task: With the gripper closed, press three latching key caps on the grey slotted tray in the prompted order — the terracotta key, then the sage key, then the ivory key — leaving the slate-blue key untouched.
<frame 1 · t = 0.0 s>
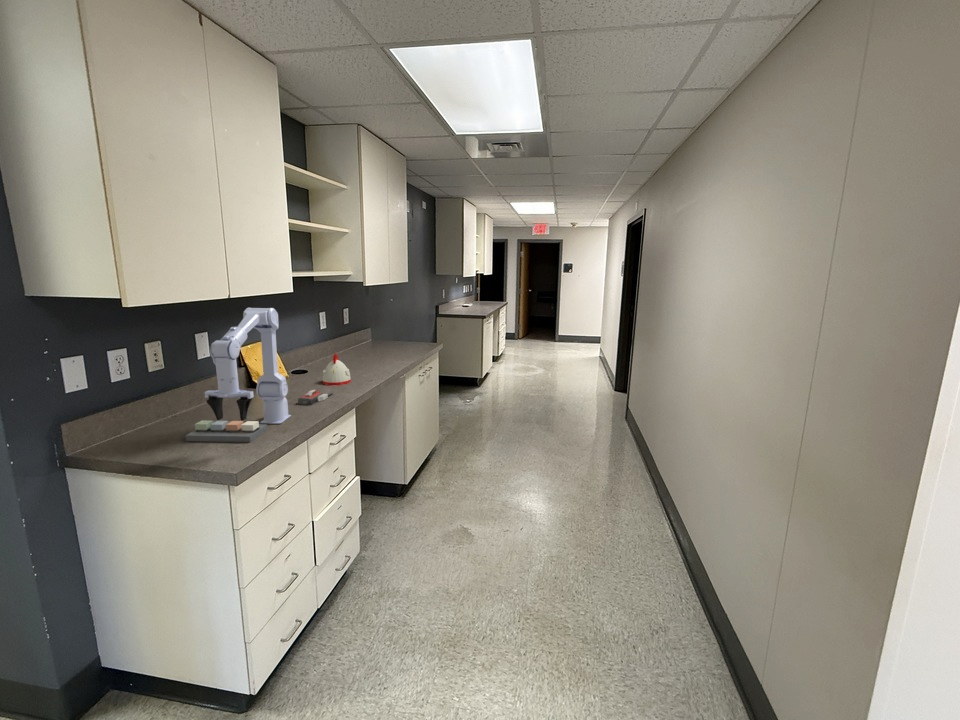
hand: (231, 419, 143), 10 cm above the table, fingers open, 7 cm apart
kitchen timer: (336, 382, 232), on the table
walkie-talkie: (316, 400, 202), on the table
key slate: (219, 426, 156), point 3 cm above the table, slide at 0.0 cm
grey slotted tray: (228, 435, 157), on the table
key ivory: (250, 427, 156), point 3 cm above the table, slide at 0.0 cm
key terracotta: (235, 426, 156), point 3 cm above the table, slide at 0.0 cm
key sage: (204, 426, 156), point 3 cm above the table, slide at 0.0 cm
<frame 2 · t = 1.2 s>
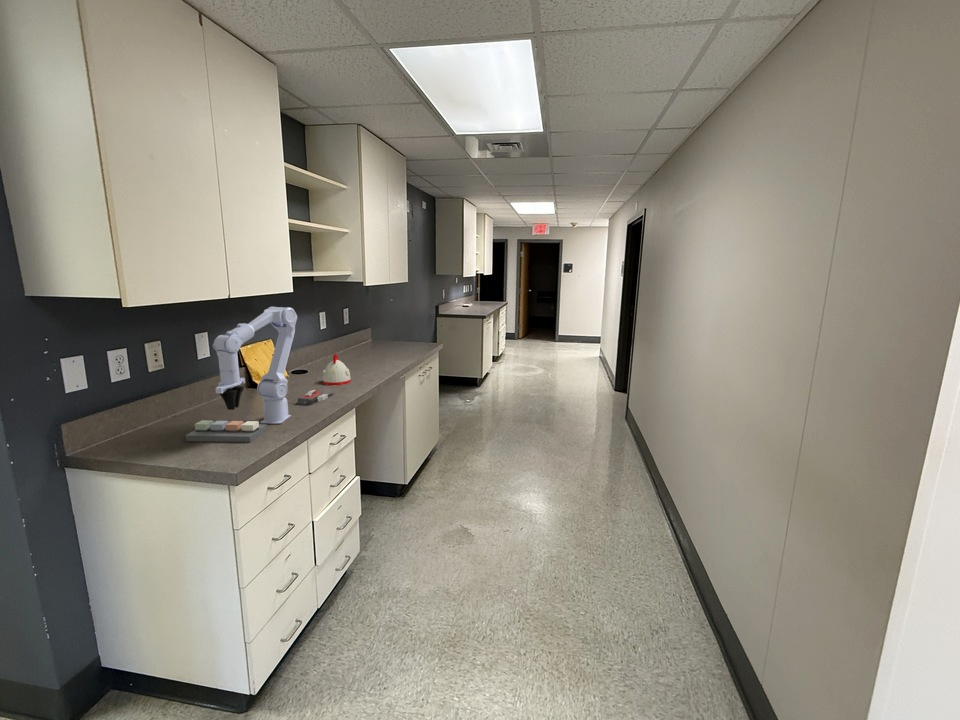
hand: (233, 408, 155), 10 cm above the table, fingers closed
nothing on the table moved.
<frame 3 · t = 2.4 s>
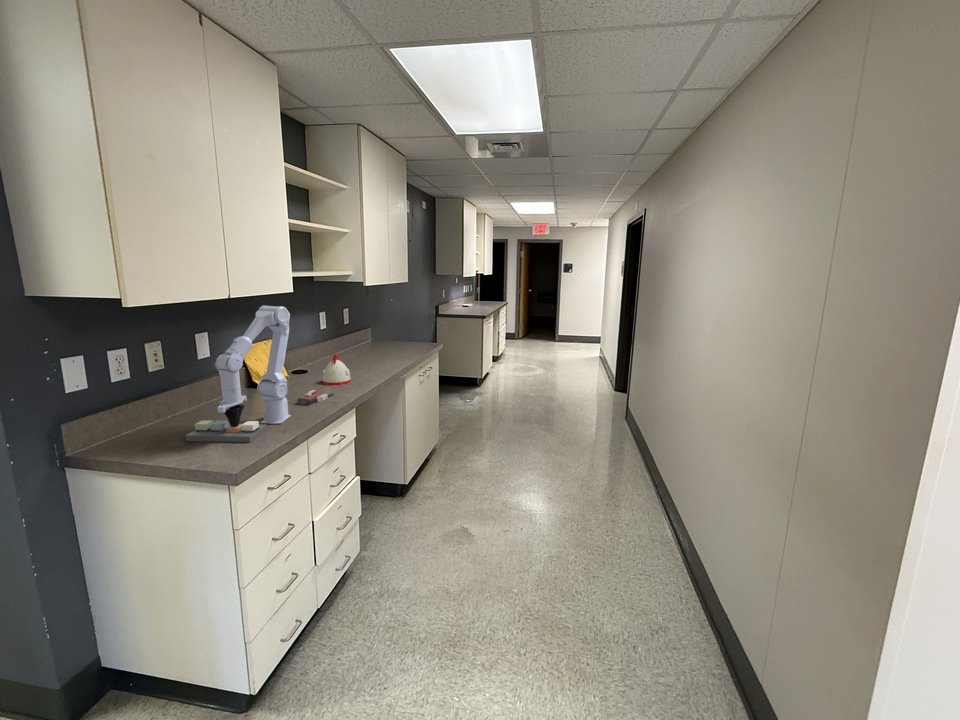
hand: (234, 426, 156), 3 cm above the table, fingers closed, pressing on key terracotta
key terracotta: (235, 430, 156), point 2 cm above the table, slide at -1.2 cm, touching gripper
everything else where it was.
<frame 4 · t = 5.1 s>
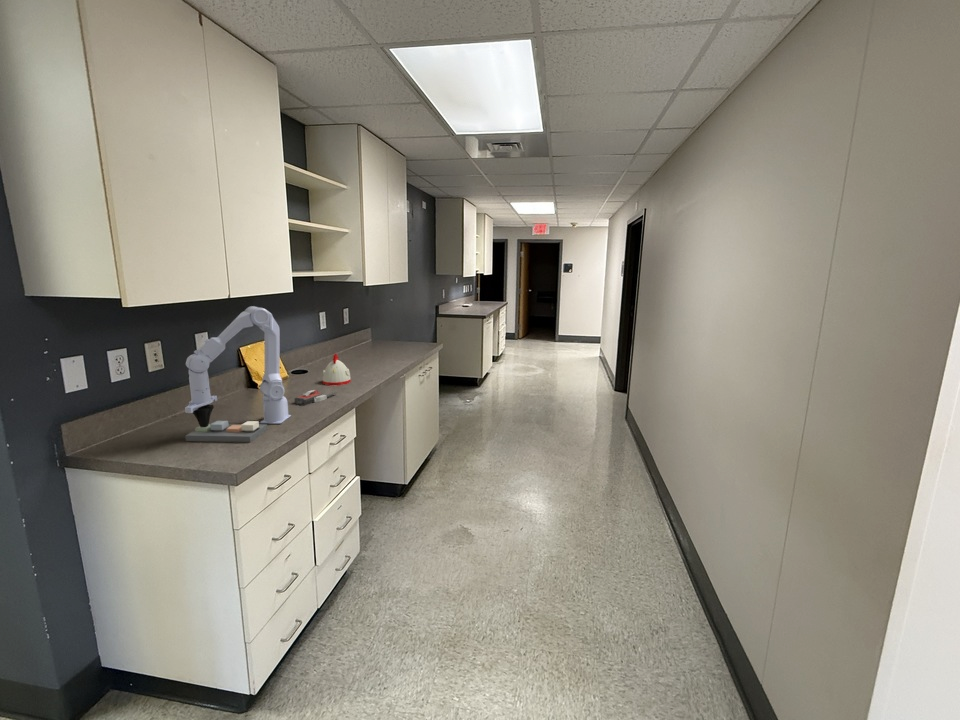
hand: (204, 426, 156), 3 cm above the table, fingers closed, pressing on key sage
key terracotta: (235, 431, 156), point 2 cm above the table, slide at -1.5 cm
key sage: (204, 430, 156), point 2 cm above the table, slide at -1.5 cm, touching gripper
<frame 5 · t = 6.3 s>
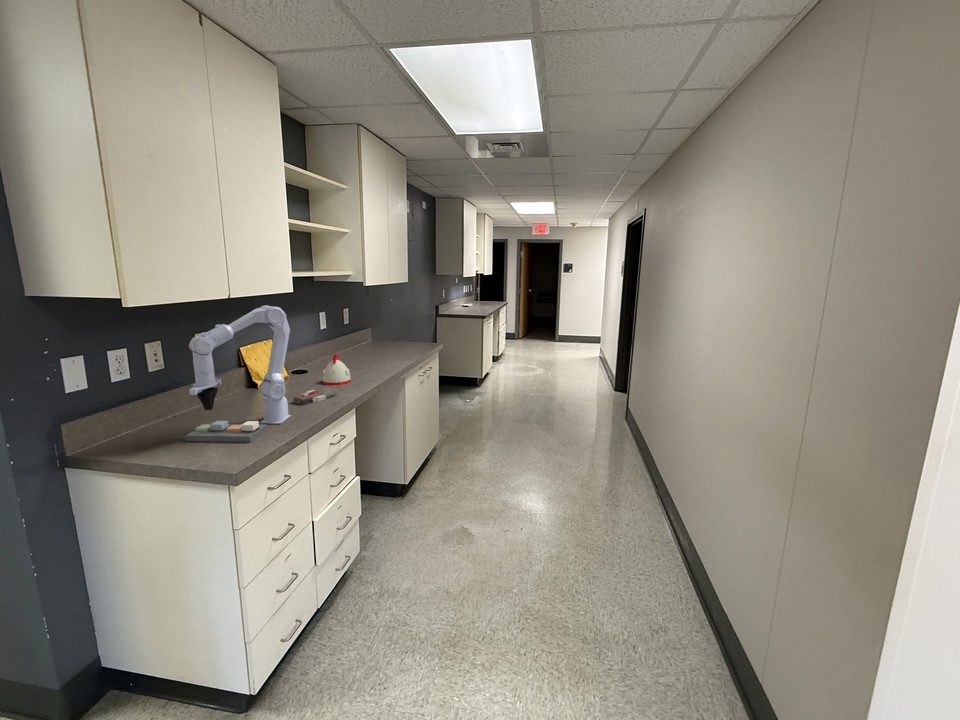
hand: (208, 409, 155), 9 cm above the table, fingers closed
key sage: (204, 430, 156), point 2 cm above the table, slide at -1.5 cm
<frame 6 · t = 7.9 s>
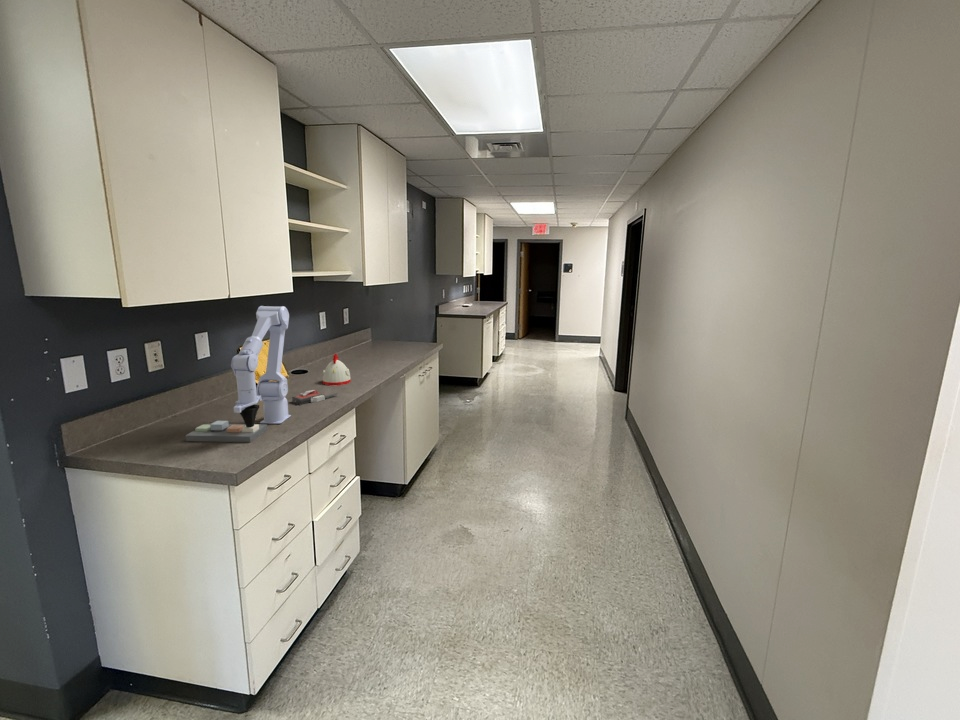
hand: (250, 426, 156), 3 cm above the table, fingers closed, pressing on key ivory
key ivory: (250, 430, 156), point 2 cm above the table, slide at -1.2 cm, touching gripper
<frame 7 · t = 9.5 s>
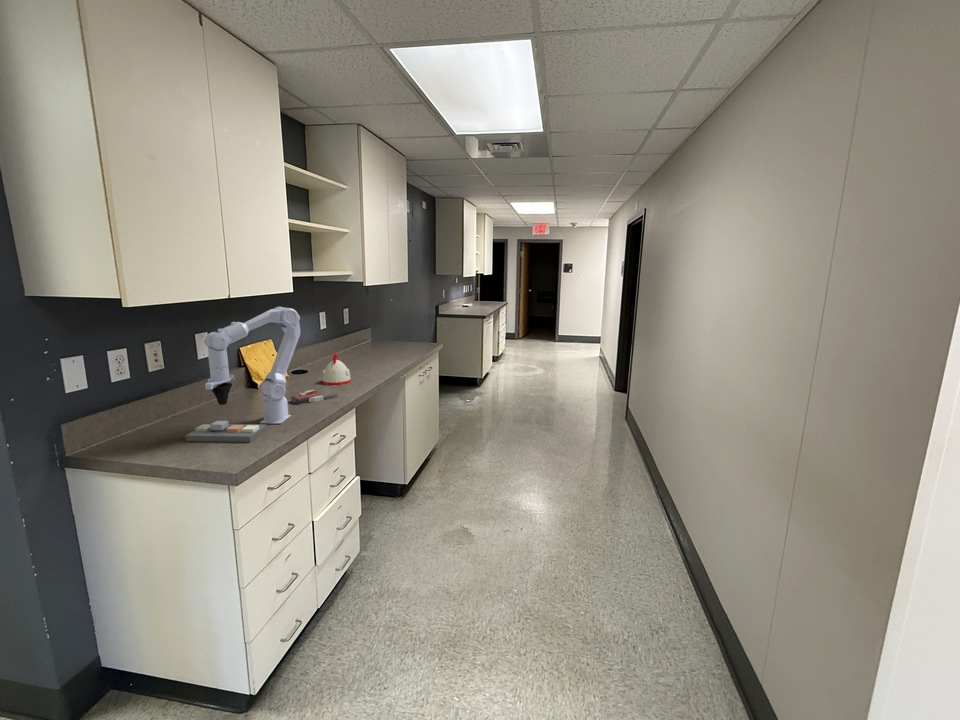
hand: (222, 404, 158), 10 cm above the table, fingers closed
key ivory: (250, 431, 156), point 2 cm above the table, slide at -1.5 cm
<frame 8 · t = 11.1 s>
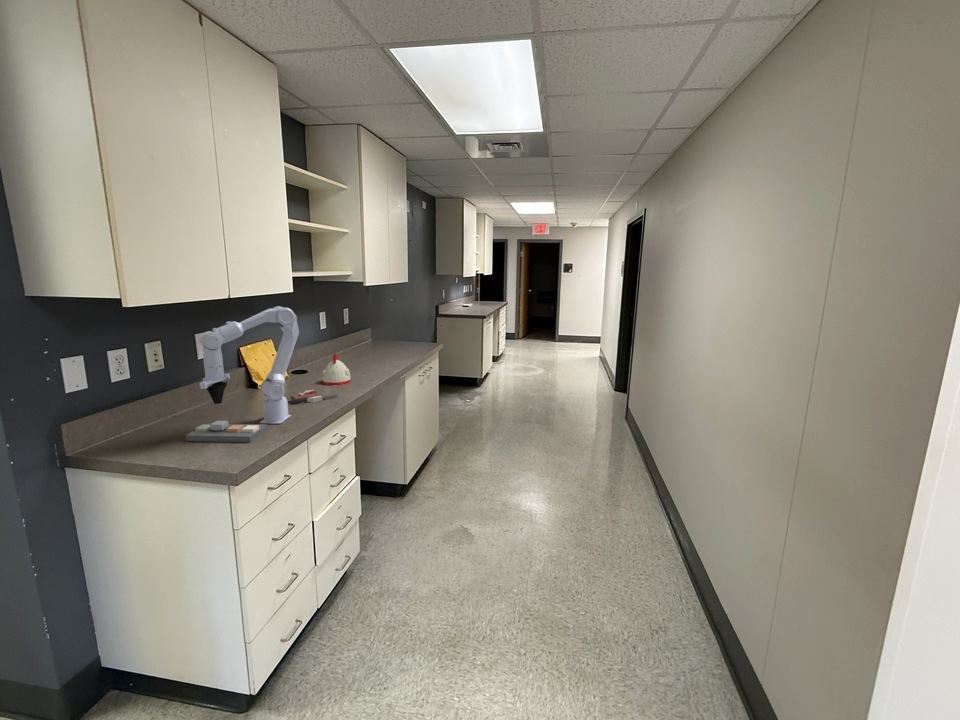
hand: (217, 403, 158), 10 cm above the table, fingers closed
at the end: key terracotta slide at -1.5 cm; key sage slide at -1.5 cm; key ivory slide at -1.5 cm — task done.
